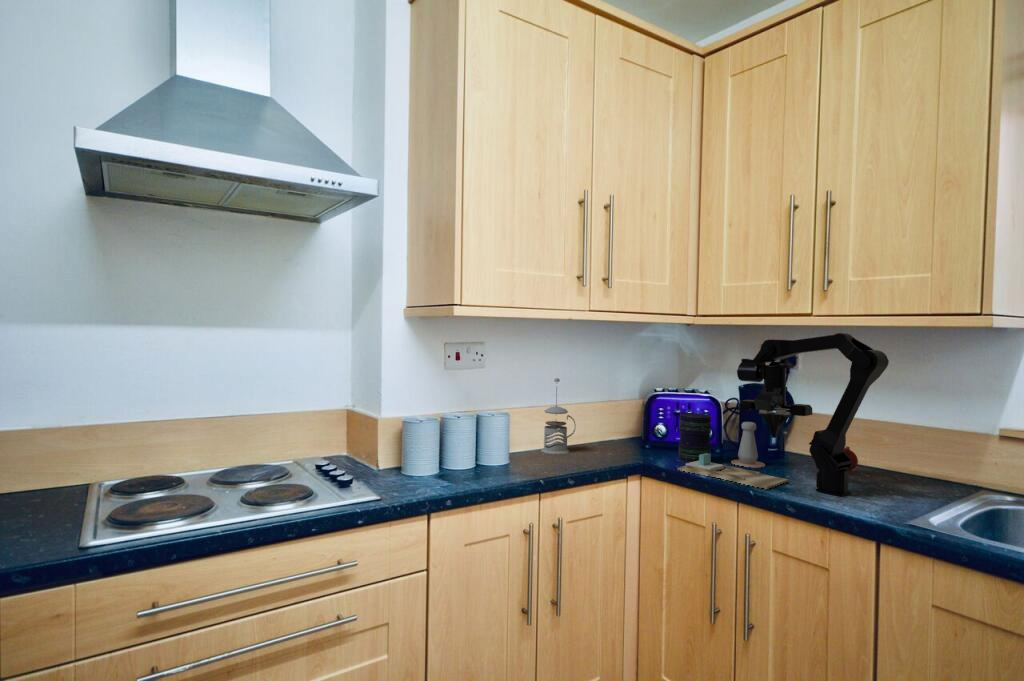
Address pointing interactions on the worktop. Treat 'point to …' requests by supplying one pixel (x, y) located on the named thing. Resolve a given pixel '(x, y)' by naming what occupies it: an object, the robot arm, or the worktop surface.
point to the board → (738, 476)
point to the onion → (851, 457)
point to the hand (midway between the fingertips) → (774, 437)
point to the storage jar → (694, 436)
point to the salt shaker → (748, 444)
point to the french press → (556, 431)
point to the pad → (756, 465)
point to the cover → (706, 463)
